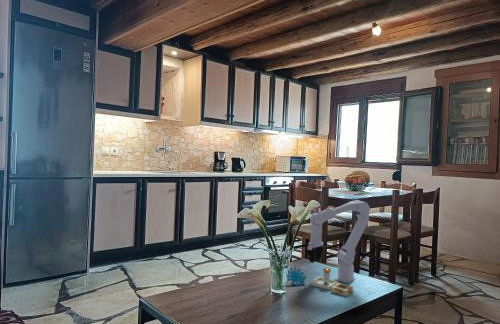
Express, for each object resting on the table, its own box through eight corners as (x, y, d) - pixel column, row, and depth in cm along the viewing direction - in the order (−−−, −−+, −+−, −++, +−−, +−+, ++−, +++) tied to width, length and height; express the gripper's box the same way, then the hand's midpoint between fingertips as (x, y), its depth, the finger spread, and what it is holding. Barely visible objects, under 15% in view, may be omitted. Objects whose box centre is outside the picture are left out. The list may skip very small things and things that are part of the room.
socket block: (337, 287, 179) (337, 282, 179) (352, 291, 174) (353, 286, 174) (330, 291, 172) (331, 286, 172) (346, 296, 167) (346, 291, 167)
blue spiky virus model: (287, 283, 177) (286, 265, 184) (284, 288, 181) (283, 270, 188) (308, 286, 179) (306, 268, 186) (304, 291, 183) (303, 273, 190)
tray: (319, 279, 190) (319, 276, 190) (338, 284, 183) (338, 281, 183) (309, 284, 181) (309, 281, 181) (329, 290, 174) (329, 286, 174)
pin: (324, 282, 184) (325, 267, 184) (331, 284, 181) (331, 269, 181) (321, 284, 181) (321, 268, 181) (327, 286, 179) (328, 270, 179)
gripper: (315, 232, 197) (314, 256, 197) (303, 236, 185) (302, 262, 185) (327, 234, 192) (326, 259, 193) (315, 238, 181) (314, 264, 181)
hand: (315, 260), depth 189 cm, fingers open, 7 cm apart
